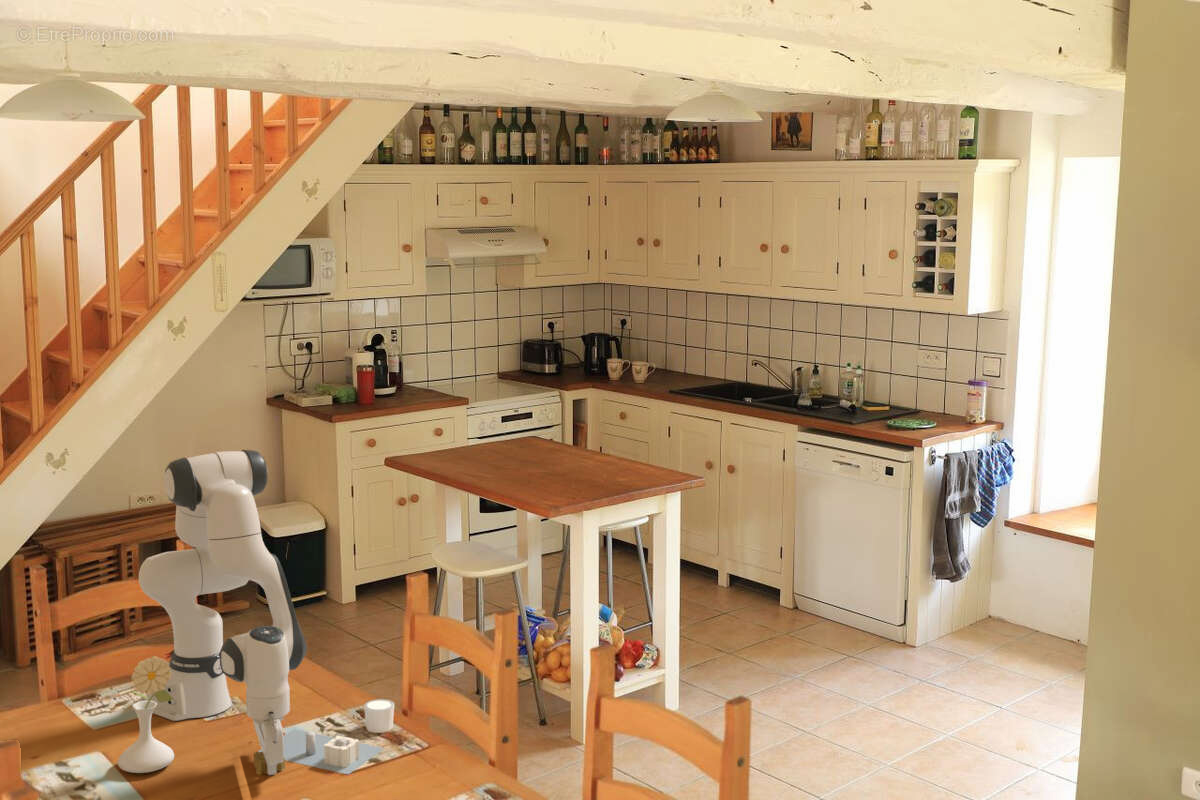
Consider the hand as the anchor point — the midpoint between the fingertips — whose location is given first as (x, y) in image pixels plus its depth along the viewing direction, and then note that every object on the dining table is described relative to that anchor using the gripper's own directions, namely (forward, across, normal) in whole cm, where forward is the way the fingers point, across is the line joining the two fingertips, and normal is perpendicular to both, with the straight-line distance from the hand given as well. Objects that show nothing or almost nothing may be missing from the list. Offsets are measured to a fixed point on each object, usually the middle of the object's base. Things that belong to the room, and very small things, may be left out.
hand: (269, 766), depth 253 cm
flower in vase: (+2, +12, +23) cm, 26 cm away
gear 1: (+2, 0, 0) cm, 2 cm away
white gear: (0, -2, -15) cm, 15 cm away
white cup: (+2, +12, -26) cm, 29 cm away
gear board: (+2, +4, -11) cm, 12 cm away
